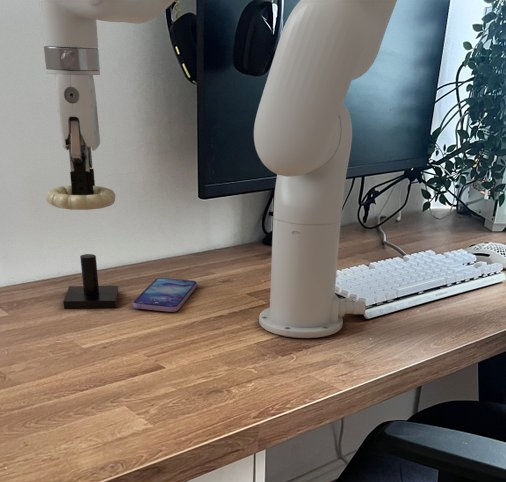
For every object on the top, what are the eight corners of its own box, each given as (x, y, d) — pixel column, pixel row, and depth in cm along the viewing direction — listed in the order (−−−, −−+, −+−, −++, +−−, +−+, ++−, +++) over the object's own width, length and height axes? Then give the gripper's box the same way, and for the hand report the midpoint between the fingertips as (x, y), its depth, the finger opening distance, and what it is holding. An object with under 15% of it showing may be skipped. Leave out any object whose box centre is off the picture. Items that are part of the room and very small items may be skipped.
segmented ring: (116, 197, 109) (115, 184, 108) (114, 211, 101) (113, 196, 100) (51, 197, 108) (50, 183, 107) (44, 210, 99) (42, 196, 98)
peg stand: (118, 292, 116) (115, 249, 112) (115, 308, 109) (112, 262, 105) (69, 293, 115) (64, 249, 111) (64, 308, 108) (58, 262, 104)
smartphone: (198, 280, 119) (176, 308, 107) (198, 286, 120) (176, 313, 107) (157, 276, 120) (130, 303, 107) (157, 282, 121) (130, 309, 108)
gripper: (94, 64, 92) (105, 208, 101) (103, 62, 106) (111, 188, 115) (37, 62, 91) (53, 207, 100) (52, 60, 105) (65, 188, 114)
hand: (84, 196), depth 107 cm, fingers closed on segmented ring, 2 cm apart
